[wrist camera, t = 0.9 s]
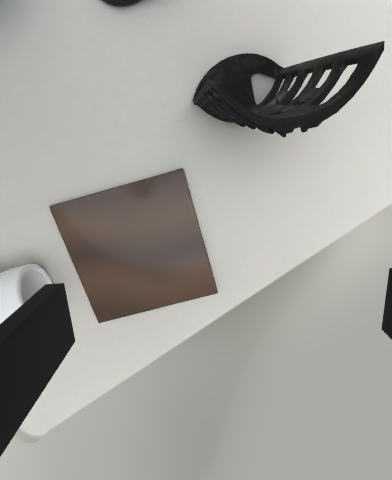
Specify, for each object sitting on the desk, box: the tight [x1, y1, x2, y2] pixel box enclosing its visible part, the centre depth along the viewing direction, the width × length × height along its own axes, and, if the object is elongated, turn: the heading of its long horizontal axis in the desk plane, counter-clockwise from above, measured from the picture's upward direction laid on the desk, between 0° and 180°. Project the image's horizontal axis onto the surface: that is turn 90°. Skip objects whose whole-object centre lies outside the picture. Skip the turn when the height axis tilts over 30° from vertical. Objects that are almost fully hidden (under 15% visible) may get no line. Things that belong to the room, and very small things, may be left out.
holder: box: [193, 41, 384, 137], centre depth 28 cm, size 11×8×20 cm
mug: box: [0, 264, 53, 324], centre depth 41 cm, size 12×10×8 cm
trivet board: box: [49, 169, 218, 323], centre depth 42 cm, size 18×18×1 cm
